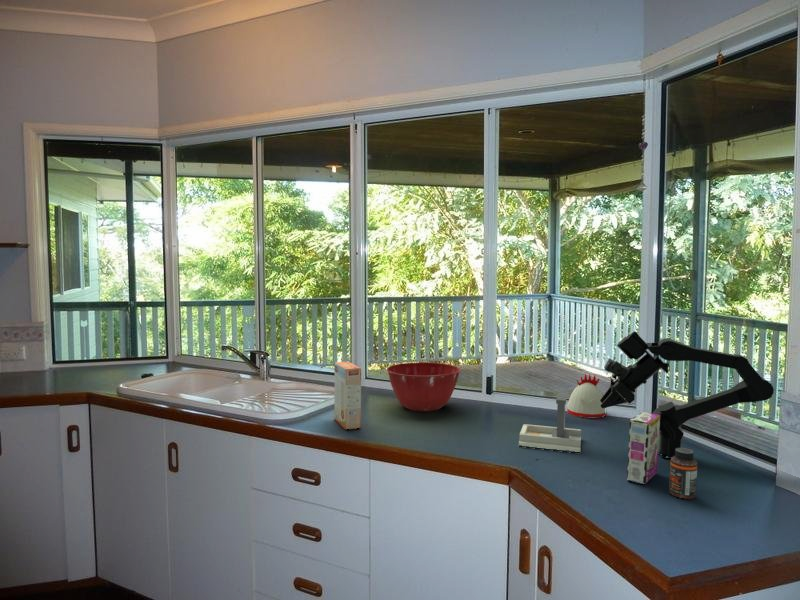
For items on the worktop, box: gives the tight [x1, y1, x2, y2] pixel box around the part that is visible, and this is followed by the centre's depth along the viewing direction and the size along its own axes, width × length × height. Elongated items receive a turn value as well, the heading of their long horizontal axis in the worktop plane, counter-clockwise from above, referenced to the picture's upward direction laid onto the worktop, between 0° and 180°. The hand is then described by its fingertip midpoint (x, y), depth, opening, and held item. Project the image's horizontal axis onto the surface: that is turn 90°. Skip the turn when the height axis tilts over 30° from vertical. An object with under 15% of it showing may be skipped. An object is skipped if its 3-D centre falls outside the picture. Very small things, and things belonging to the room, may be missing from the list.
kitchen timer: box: [566, 373, 605, 418], centre depth 210 cm, size 14×14×15 cm
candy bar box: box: [626, 411, 660, 485], centre depth 148 cm, size 11×5×16 cm, turn 141°
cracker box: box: [333, 361, 362, 430], centre depth 195 cm, size 14×6×21 cm, turn 22°
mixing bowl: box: [386, 361, 461, 413], centre depth 217 cm, size 28×28×16 cm
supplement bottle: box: [668, 447, 698, 500], centre depth 137 cm, size 6×6×11 cm
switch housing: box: [518, 423, 582, 453], centre depth 176 cm, size 18×14×4 cm
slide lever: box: [552, 393, 569, 438], centre depth 175 cm, size 5×8×13 cm, turn 161°
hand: (601, 404), depth 171 cm, fingers open, 6 cm apart
